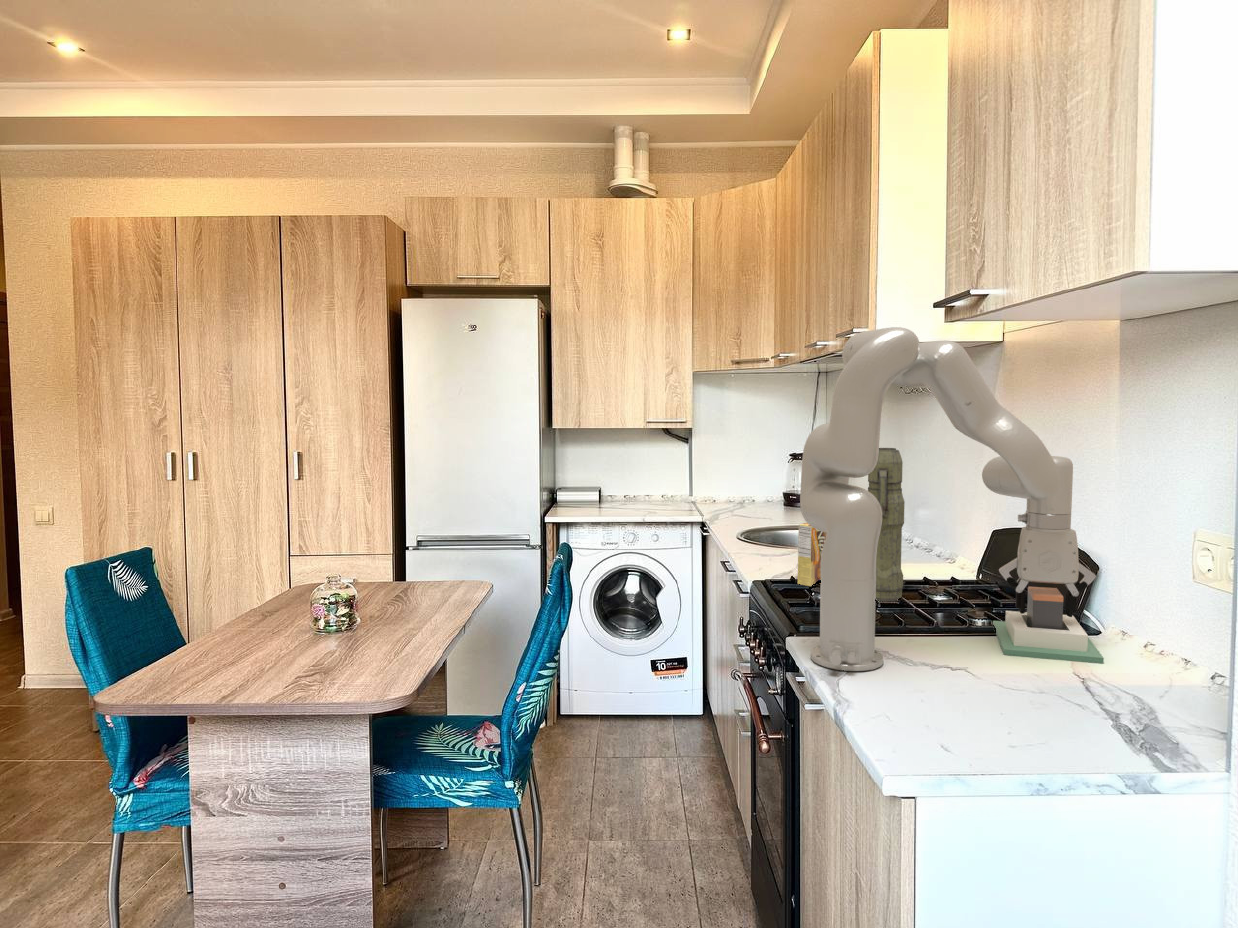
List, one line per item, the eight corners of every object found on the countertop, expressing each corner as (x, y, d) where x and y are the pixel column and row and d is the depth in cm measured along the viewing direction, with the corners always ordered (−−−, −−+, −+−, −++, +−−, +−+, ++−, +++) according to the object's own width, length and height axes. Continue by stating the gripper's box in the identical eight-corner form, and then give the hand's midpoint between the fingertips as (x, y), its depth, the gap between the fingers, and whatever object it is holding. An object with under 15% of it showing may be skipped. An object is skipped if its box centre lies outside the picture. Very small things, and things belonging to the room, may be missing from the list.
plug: (1061, 644, 152) (1063, 596, 152) (1031, 641, 154) (1033, 594, 153) (1055, 633, 159) (1056, 588, 158) (1026, 631, 161) (1028, 586, 160)
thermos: (901, 592, 197) (904, 447, 194) (903, 604, 186) (907, 450, 183) (863, 589, 200) (865, 446, 197) (863, 601, 188) (865, 449, 185)
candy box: (814, 578, 212) (815, 519, 211) (829, 580, 210) (830, 521, 208) (796, 584, 206) (797, 524, 205) (811, 587, 203) (812, 525, 202)
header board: (1103, 663, 145) (1104, 641, 144) (1003, 654, 150) (1004, 633, 150) (1080, 631, 163) (1081, 612, 163) (992, 625, 169) (993, 606, 168)
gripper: (999, 522, 154) (996, 614, 155) (1105, 526, 148) (1101, 622, 150) (995, 516, 161) (992, 605, 163) (1096, 520, 155) (1092, 612, 157)
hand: (1044, 612), depth 156 cm, fingers open, 7 cm apart
